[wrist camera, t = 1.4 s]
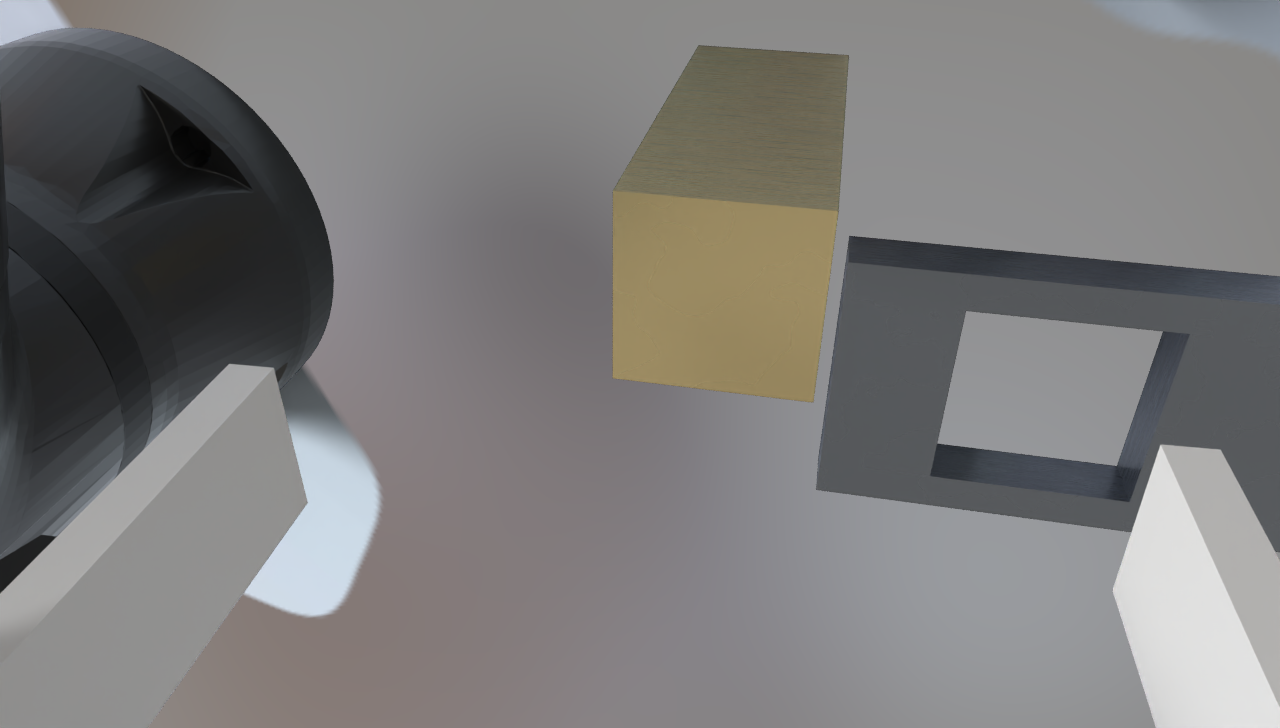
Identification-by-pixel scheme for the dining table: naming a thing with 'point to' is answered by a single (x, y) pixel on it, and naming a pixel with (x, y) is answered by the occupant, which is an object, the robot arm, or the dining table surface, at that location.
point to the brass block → (731, 225)
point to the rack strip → (1056, 290)
